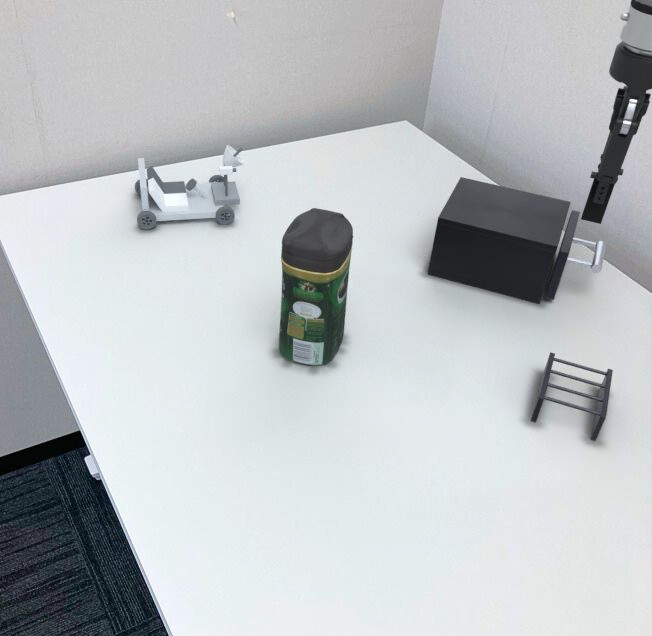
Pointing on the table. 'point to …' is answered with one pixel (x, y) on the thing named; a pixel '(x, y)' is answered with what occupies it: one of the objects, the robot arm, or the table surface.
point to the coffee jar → (314, 286)
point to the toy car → (188, 195)
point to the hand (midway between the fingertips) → (591, 218)
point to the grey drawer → (563, 258)
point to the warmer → (498, 239)
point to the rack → (601, 398)
